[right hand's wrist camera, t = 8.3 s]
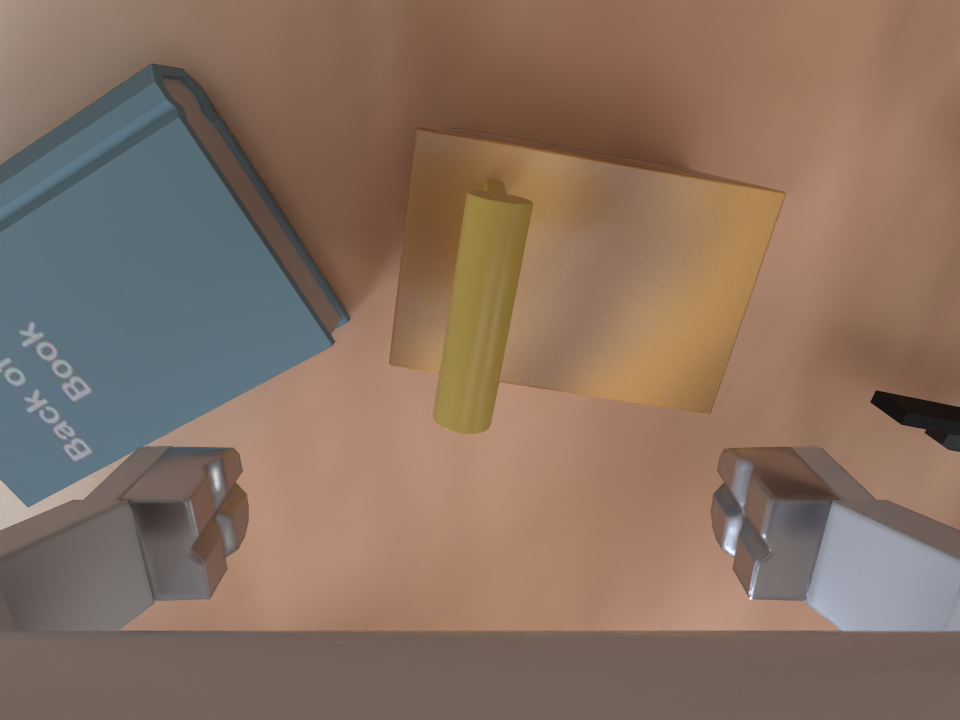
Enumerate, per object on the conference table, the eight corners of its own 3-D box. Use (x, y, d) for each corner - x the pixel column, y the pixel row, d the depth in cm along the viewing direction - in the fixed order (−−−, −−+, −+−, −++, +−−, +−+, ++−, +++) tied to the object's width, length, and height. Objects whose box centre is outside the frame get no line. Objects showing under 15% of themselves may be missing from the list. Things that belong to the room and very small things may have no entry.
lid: (392, 356, 28) (355, 453, 20) (419, 127, 24) (387, 130, 16) (702, 403, 28) (789, 516, 20) (773, 189, 25) (915, 222, 17)
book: (78, 464, 42) (27, 507, 37) (-105, 264, 37) (-190, 285, 32) (350, 318, 38) (332, 345, 33) (189, 70, 33) (141, 61, 28)
